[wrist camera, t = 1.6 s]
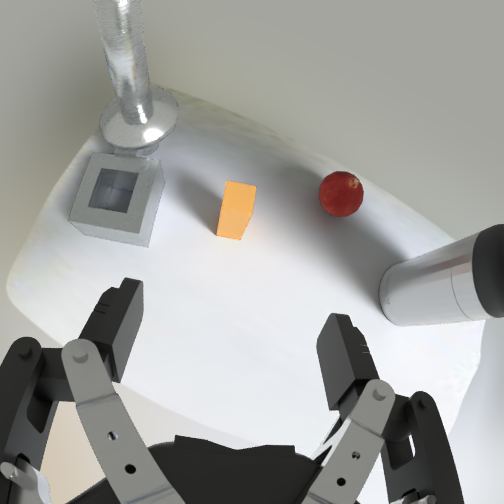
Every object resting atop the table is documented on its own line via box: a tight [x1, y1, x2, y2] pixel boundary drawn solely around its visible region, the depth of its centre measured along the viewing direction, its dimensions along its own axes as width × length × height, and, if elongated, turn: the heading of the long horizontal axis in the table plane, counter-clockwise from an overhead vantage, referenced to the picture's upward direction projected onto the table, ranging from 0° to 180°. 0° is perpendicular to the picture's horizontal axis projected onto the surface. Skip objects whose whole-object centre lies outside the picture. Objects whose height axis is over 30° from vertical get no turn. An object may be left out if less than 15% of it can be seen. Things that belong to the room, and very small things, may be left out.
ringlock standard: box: [68, 0, 178, 247], centre depth 22 cm, size 10×20×30 cm, turn 171°
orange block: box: [216, 181, 257, 240], centre depth 32 cm, size 3×3×9 cm
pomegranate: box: [319, 171, 364, 217], centre depth 36 cm, size 6×6×8 cm
